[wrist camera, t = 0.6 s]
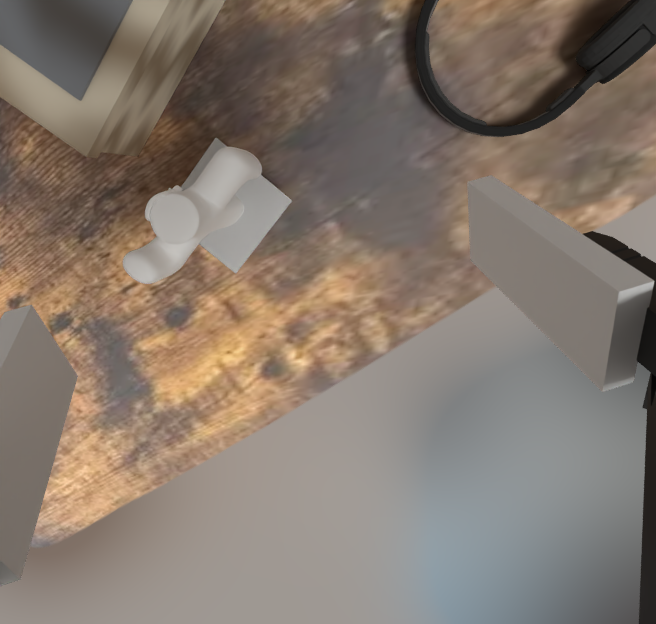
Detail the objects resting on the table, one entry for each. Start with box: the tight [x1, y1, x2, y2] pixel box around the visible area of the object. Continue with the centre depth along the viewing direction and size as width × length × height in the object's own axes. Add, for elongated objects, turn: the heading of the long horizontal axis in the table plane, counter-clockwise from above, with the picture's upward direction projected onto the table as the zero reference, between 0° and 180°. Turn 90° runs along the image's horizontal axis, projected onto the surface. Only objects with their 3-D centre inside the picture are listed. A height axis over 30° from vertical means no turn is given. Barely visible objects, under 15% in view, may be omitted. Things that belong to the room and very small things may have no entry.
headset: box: [415, 0, 656, 137], centre depth 34 cm, size 13×9×19 cm
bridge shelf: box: [0, 0, 225, 158], centre depth 36 cm, size 16×14×8 cm
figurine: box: [123, 138, 292, 284], centre depth 35 cm, size 7×9×15 cm
